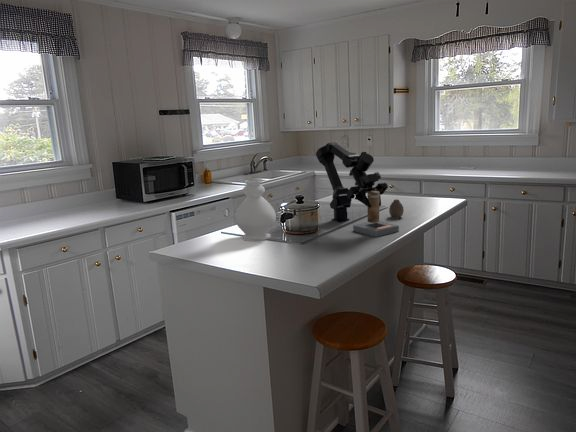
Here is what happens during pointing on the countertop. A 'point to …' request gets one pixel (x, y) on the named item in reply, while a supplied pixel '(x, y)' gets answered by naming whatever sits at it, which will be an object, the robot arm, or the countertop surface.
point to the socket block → (376, 228)
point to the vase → (396, 209)
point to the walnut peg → (373, 206)
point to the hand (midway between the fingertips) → (375, 206)
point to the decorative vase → (255, 213)
